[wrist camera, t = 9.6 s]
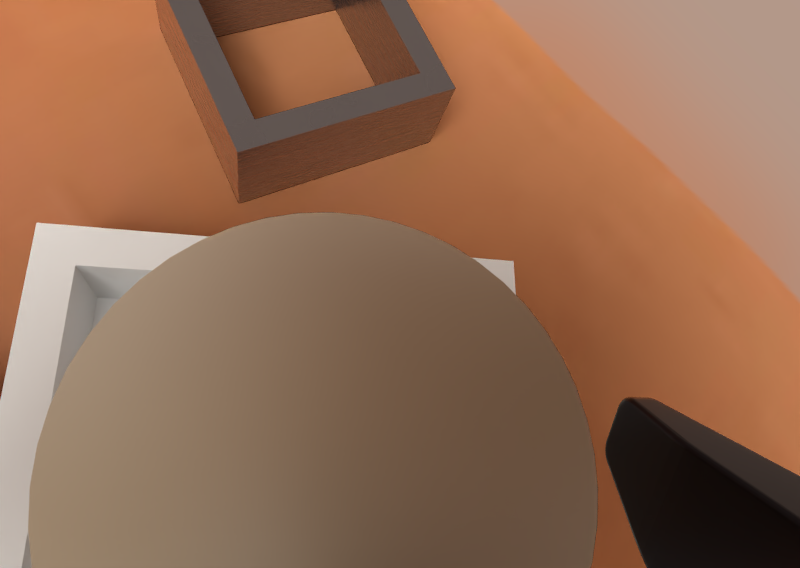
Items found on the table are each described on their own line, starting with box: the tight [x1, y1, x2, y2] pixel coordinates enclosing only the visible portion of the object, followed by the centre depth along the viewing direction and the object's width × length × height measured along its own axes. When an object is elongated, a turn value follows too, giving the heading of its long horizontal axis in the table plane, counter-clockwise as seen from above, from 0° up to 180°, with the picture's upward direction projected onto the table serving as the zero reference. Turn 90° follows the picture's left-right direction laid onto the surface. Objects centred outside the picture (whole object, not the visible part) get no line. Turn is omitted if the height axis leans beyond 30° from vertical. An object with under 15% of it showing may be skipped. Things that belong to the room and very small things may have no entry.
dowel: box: [28, 212, 598, 568], centre depth 11 cm, size 4×4×13 cm
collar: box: [155, 0, 455, 203], centre depth 20 cm, size 7×7×3 cm
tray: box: [0, 223, 516, 568], centre depth 16 cm, size 12×12×3 cm
